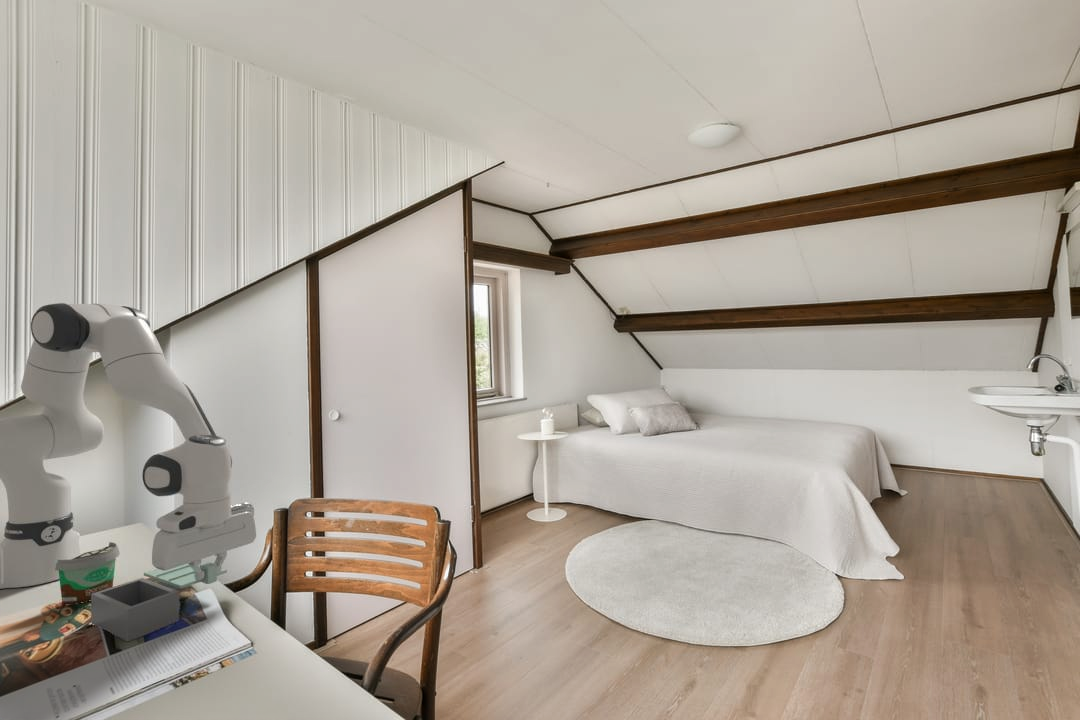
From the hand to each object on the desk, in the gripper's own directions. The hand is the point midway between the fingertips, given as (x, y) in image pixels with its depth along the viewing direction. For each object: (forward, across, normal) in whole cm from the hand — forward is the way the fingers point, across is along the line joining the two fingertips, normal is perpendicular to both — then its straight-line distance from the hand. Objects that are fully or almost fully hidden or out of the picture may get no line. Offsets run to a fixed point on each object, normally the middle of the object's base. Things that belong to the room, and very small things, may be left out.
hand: (208, 576), depth 116 cm
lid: (+1, 0, -7) cm, 7 cm away
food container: (+6, +10, -26) cm, 28 cm away
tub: (+6, +12, -5) cm, 14 cm away
